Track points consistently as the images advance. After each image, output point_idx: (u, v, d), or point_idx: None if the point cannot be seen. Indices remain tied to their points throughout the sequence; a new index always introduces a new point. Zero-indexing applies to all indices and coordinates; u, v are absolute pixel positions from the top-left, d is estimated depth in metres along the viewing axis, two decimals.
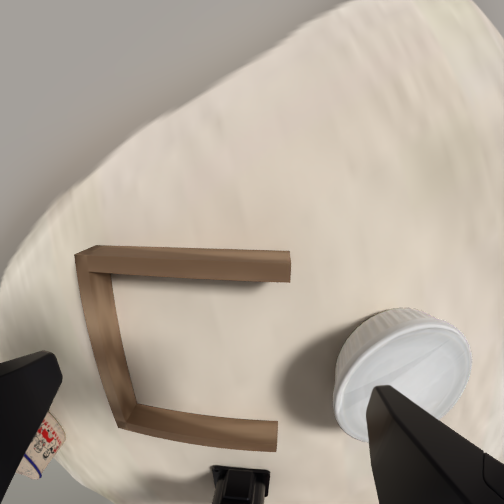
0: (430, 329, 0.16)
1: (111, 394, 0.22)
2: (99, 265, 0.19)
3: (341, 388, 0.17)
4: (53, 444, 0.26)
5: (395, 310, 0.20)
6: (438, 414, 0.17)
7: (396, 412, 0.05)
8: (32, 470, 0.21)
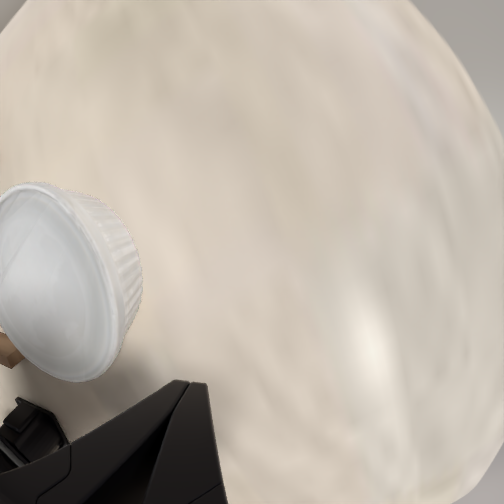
0: (23, 192, 0.11)
1: None
2: None
3: None
4: None
5: None
6: (95, 353, 0.13)
7: (178, 409, 0.05)
8: None
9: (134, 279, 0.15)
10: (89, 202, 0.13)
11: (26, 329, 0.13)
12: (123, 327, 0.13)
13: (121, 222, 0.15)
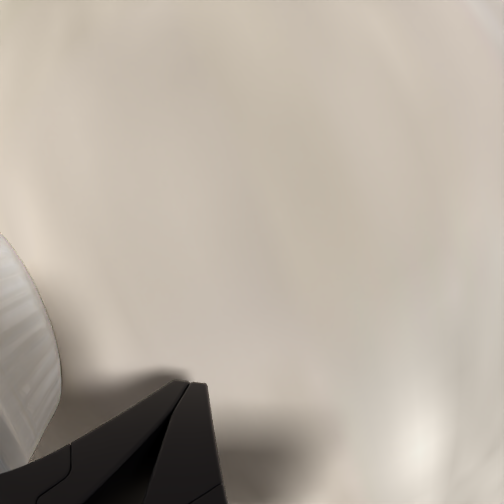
0: None
1: None
2: None
3: None
4: None
5: None
6: None
7: (178, 409, 0.05)
8: None
9: (30, 366, 0.07)
10: None
11: None
12: (16, 451, 0.05)
13: (12, 264, 0.07)
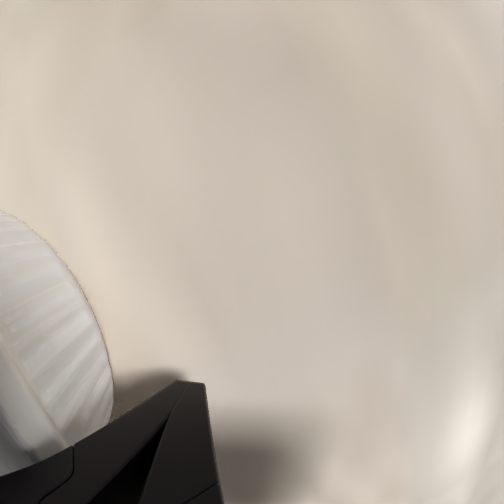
0: None
1: None
2: None
3: None
4: None
5: None
6: None
7: (176, 408, 0.05)
8: None
9: (89, 389, 0.06)
10: None
11: None
12: None
13: (58, 270, 0.07)
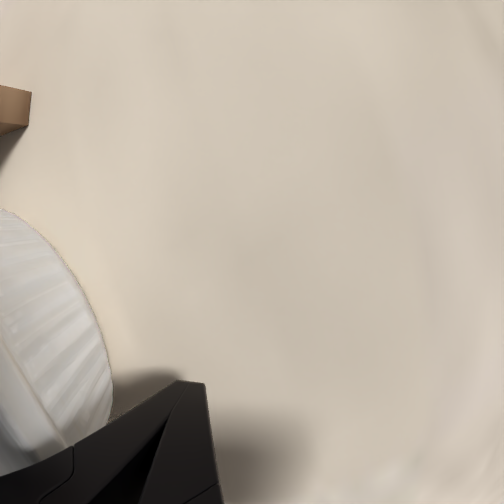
0: None
1: None
2: None
3: None
4: None
5: None
6: None
7: (176, 408, 0.05)
8: None
9: (89, 390, 0.06)
10: None
11: None
12: None
13: (60, 270, 0.07)
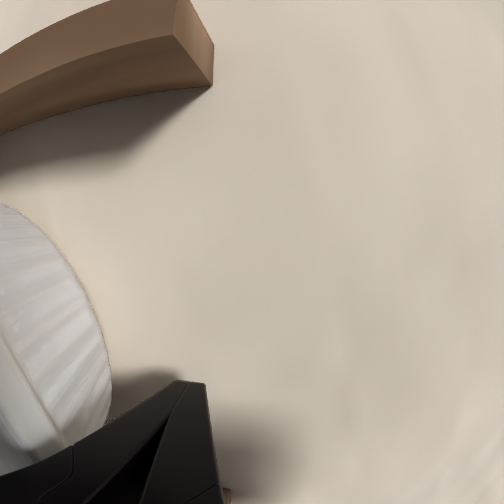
0: None
1: None
2: None
3: None
4: None
5: None
6: None
7: (176, 408, 0.05)
8: None
9: (89, 389, 0.06)
10: None
11: None
12: None
13: (62, 268, 0.07)
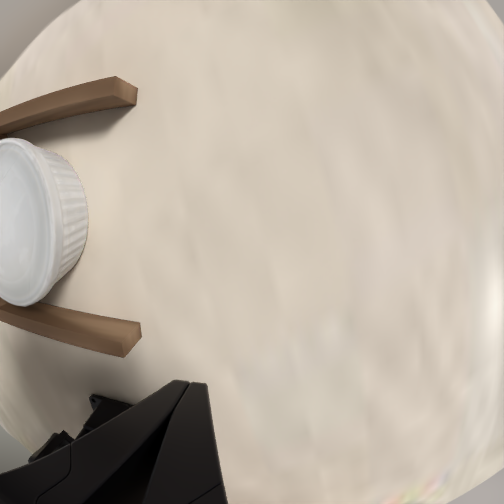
0: (4, 145, 0.13)
1: None
2: None
3: None
4: None
5: None
6: (38, 275, 0.14)
7: (178, 409, 0.05)
8: None
9: (77, 219, 0.16)
10: (52, 156, 0.15)
11: None
12: (60, 253, 0.15)
13: (76, 175, 0.17)
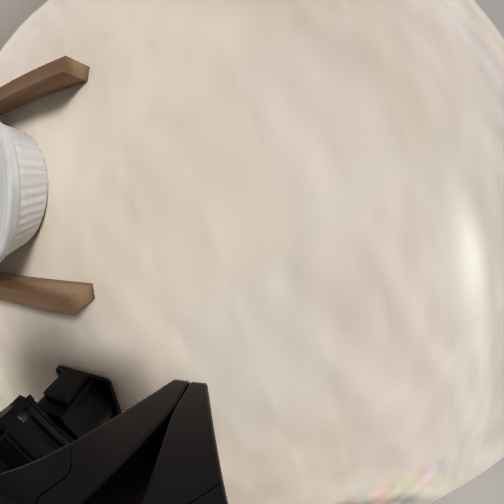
0: None
1: None
2: None
3: None
4: None
5: None
6: None
7: (178, 409, 0.05)
8: None
9: (35, 184, 0.16)
10: (16, 131, 0.15)
11: None
12: (16, 211, 0.14)
13: (37, 147, 0.17)
